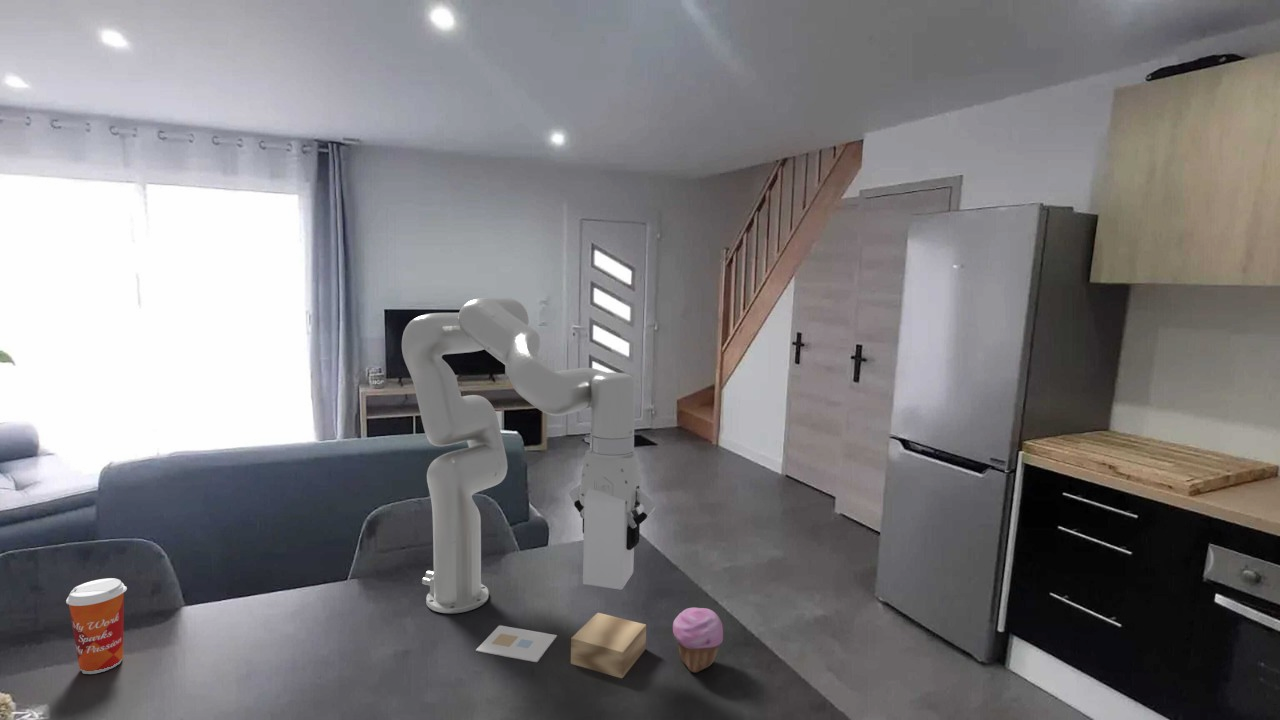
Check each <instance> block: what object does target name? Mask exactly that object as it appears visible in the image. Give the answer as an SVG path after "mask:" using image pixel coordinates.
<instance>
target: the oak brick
mask: <svg viewBox="0 0 1280 720" xmlns="http://www.w3.org/2000/svg"><path fill="white" fill-rule="evenodd" d="M646 641H647V624H645V623H641V622H636V621H634V620H629V619H625V618H622V617H617V616H613V615H609V614H604V613H601V612H597V613H595V614H594V616H592V617H591V618H590V619H589V620H588V621H587V622H586V623H585V624H584V625H583V626H582V627H581V628H580V629H579V630H578V631H577V632H576V633H575V634H574V635H573V636H572V637H570V664H571V665H574V666H577V667H580V668H584V669H588V670H592V671H595V672H598V673H602V674H606V675H609V676H612V677H615V678H619V679H623V678H624V677H625V676H626V675H627V673H628V672H629V671H630V669H632V667H633V666H634V664H635V663H636V662H637V660H638V659H639V658H640V657H641V656H642V655H643V653H644V652H645V650H646V648H647V646H646V644H647V642H646Z"/></svg>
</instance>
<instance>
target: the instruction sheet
mask: <svg viewBox="0 0 1280 720" xmlns="http://www.w3.org/2000/svg"><path fill="white" fill-rule="evenodd" d="M557 637H558V635H557V634H551V633H547V632H541V631H536V630H529V629H523V628H518V627H510V626H505V625H501V624H499V625H498V626H497V627H496V628H495V629H494V630H493V631H492V632H491V633H490V634H489V635H488V636H487V638H486V639H485V640H484V641H483V642H482V643H481V644H480V645H479V646H478V647H477V648H476V649H475V652H480V653H485V654H491V655H496V656H501V657H506V658H510V659H511V658H512V659H516V660H517V659H518V660H522V661H528V662H533V663H538V662H539V661H540V659H541V658H542V656H543V655H544V653H545V652H547V650H548V648H550V647H551V645H552V643H554V641H555V640H556V638H557Z"/></svg>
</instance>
